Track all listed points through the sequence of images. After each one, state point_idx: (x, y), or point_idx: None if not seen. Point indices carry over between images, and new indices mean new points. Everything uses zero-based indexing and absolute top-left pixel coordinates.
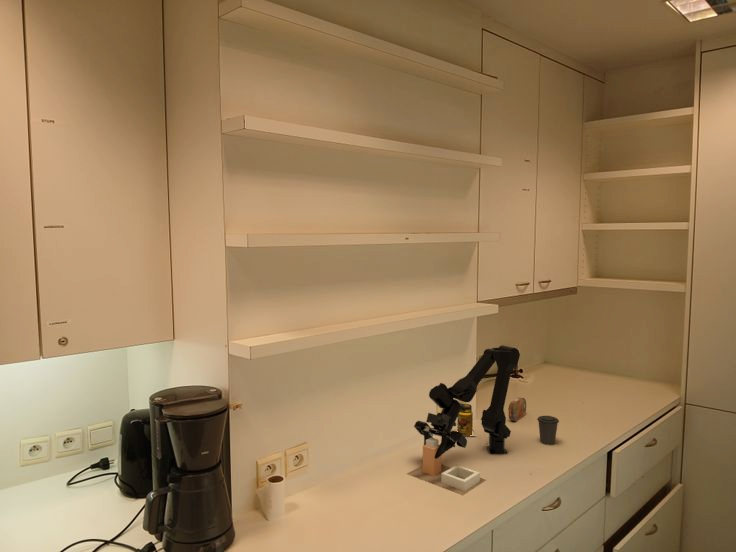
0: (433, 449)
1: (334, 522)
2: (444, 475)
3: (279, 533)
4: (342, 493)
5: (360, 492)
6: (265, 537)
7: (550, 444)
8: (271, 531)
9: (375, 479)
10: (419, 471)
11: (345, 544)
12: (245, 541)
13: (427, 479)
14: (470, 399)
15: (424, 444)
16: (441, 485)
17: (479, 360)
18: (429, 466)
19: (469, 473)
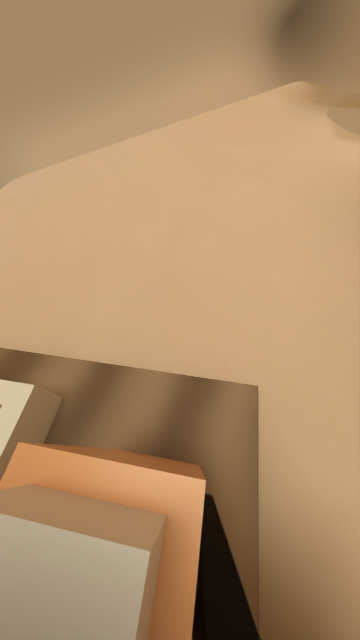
0: (23, 443)
1: (236, 140)
2: (18, 383)
3: (281, 102)
4: (327, 199)
5: (295, 222)
6: (287, 94)
7: None
8: (296, 100)
9: (338, 303)
10: (218, 458)
11: (176, 123)
12: (299, 85)
13: (136, 388)
14: None
15: (244, 634)
16: (56, 370)
17: None
18: (140, 455)
19: None
